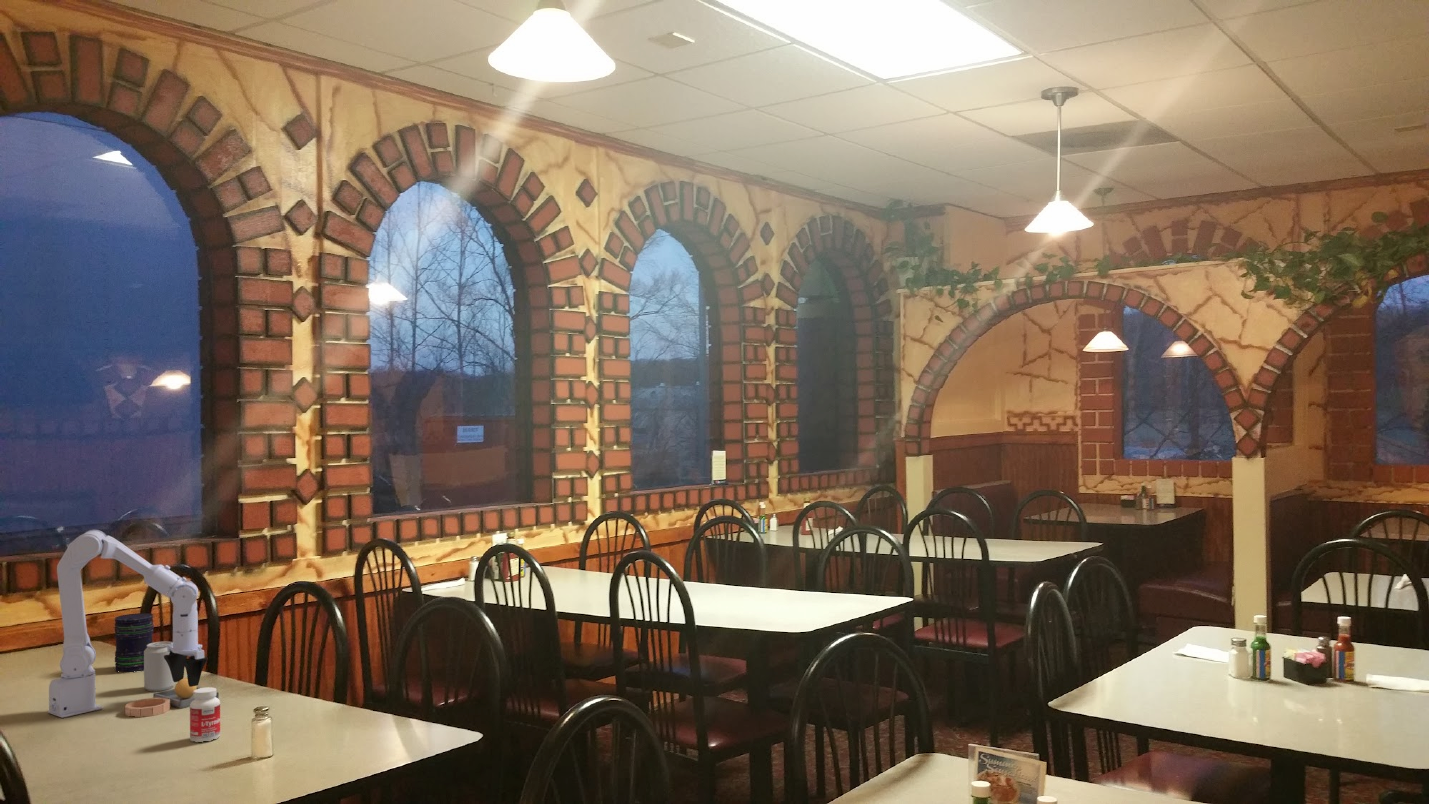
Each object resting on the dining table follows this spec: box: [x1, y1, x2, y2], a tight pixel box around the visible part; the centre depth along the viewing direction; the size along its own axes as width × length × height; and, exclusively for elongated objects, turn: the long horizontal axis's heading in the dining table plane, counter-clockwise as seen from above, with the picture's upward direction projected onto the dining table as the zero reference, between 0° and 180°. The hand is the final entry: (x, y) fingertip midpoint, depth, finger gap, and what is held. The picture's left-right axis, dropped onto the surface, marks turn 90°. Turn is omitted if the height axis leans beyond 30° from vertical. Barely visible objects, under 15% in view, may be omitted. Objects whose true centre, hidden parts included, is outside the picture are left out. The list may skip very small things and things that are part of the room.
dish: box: [124, 697, 171, 718], centre depth 263 cm, size 10×10×2 cm
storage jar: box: [114, 612, 154, 673], centre depth 306 cm, size 10×10×15 cm
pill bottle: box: [189, 686, 221, 743], centre depth 241 cm, size 6×6×11 cm
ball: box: [174, 677, 198, 699], centre depth 273 cm, size 5×5×5 cm
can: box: [143, 641, 177, 692], centre depth 285 cm, size 8×8×12 cm
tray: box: [152, 686, 220, 710], centre depth 273 cm, size 10×13×2 cm
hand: (185, 683), depth 273 cm, fingers open, 7 cm apart
